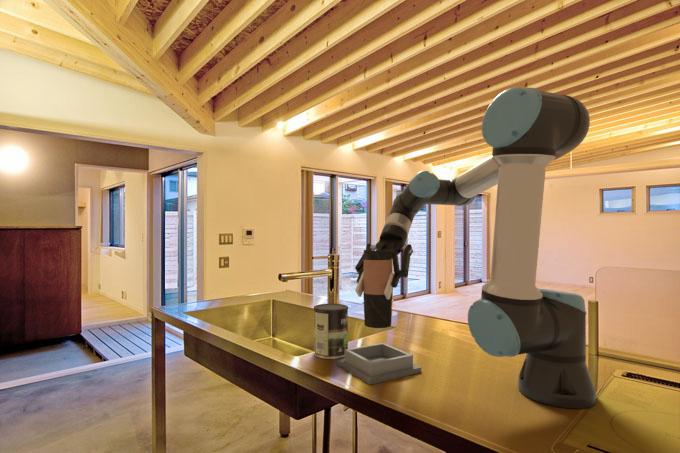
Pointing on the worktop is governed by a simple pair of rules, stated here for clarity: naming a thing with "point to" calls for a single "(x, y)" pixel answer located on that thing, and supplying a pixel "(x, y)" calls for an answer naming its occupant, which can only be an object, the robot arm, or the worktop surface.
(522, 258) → the robot arm
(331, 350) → the coffee can
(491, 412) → the worktop surface
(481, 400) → the worktop surface
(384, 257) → the travel mug
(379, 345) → the dock
